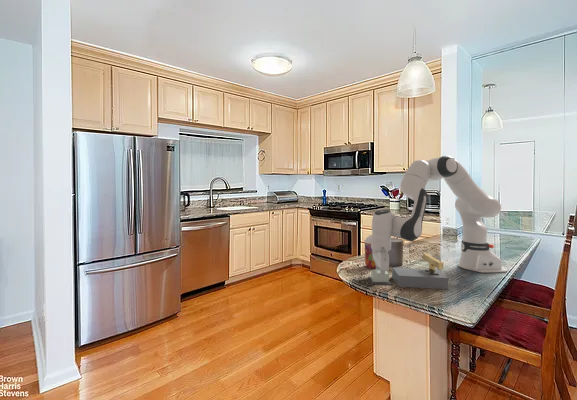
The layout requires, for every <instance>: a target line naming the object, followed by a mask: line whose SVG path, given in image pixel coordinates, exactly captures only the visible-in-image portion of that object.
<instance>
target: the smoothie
mask: <svg viewBox="0 0 577 400" xmlns="http://www.w3.org/2000/svg"><path fill="white" fill-rule="evenodd" d="M371 237H372V234H371V235H368V236H367V237H366V239H364V264H365V267H366V268H368V269H376V265H375V261H374V259H373V256H372V249H371Z"/></svg>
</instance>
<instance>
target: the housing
mask: <svg viewBox="0 0 577 400" xmlns="http://www.w3.org/2000/svg"><path fill="white" fill-rule="evenodd" d="M391 267H392V270H391V272H392V273H391V278H392V279H393V281H394V283H395V284H396V285H397V287H398V286H399V288H400V287H401V288H417V289H418V288H419V289H434V290H435V289H436V290H437V289H440V290H449V280H450V277H449V276H447V275H446V274H444V273H443V272H442V271H441V270H440V269H438V268H435V273H429V268H418V267H417V268H412V267H411V268H410V267H396V266H391Z"/></svg>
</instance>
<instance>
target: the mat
mask: <svg viewBox="0 0 577 400" xmlns="http://www.w3.org/2000/svg"><path fill="white" fill-rule="evenodd" d="M367 278H368V280H369V282H370V284H371V285H381V284H384V285H383V286H392V283H391V281H390V280H389V283H388V282H373V281H372V279H371V276H368V277H367Z"/></svg>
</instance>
